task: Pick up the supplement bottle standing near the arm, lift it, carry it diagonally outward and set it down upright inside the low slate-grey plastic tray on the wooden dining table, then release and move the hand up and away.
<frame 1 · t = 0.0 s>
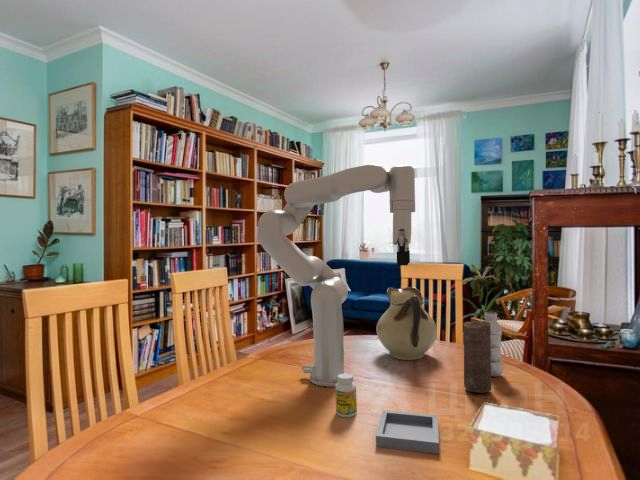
hand: (403, 264, 118), 37 cm above the table, tool pointing down, fingers open, 9 cm apart
pitcher: (408, 356, 148), on the table
candle: (477, 392, 113), on the table
plastic bottle: (492, 375, 126), on the table
tray: (408, 435, 89), on the table
supplement bottle: (346, 413, 101), on the table
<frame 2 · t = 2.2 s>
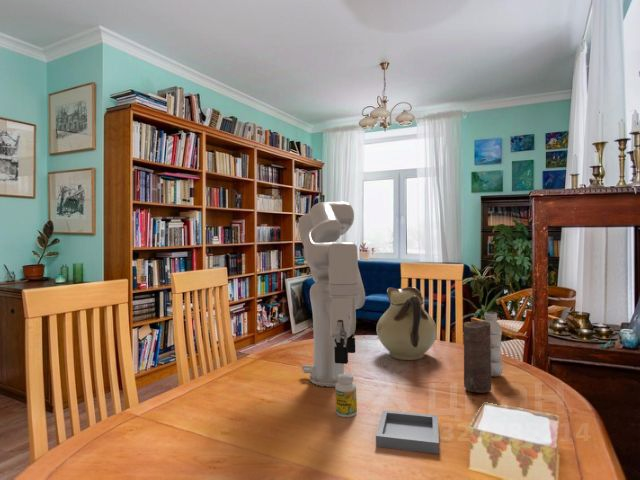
hand: (345, 357, 100), 14 cm above the table, tool pointing down, fingers open, 9 cm apart
nothing on the table moved.
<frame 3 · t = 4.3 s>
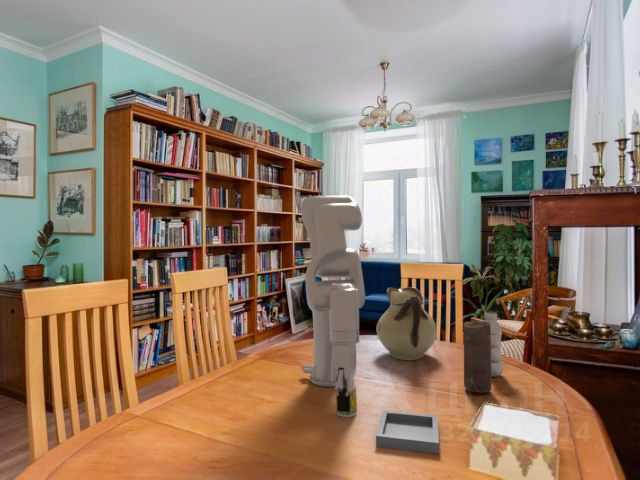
hand: (346, 405, 101), 2 cm above the table, tool pointing down, fingers closed on supplement bottle, 5 cm apart
supplement bottle: (346, 413, 101), on the table, touching gripper
everything else where it was.
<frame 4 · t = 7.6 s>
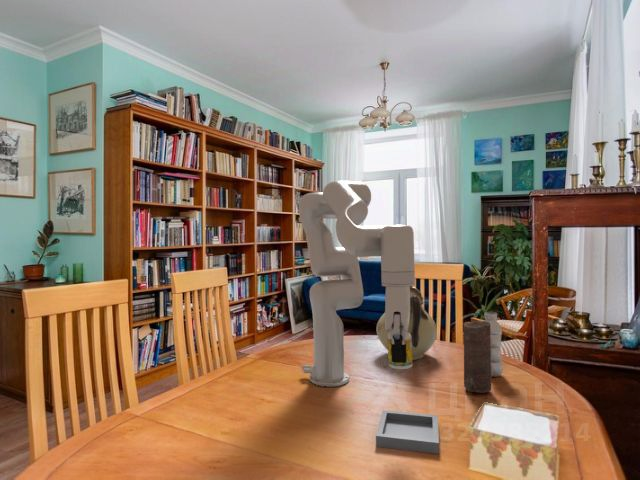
hand: (400, 357, 90), 17 cm above the table, tool pointing down, fingers closed on supplement bottle, 5 cm apart
supplement bottle: (400, 366, 90), point 15 cm above the table, touching gripper
everything else where it was.
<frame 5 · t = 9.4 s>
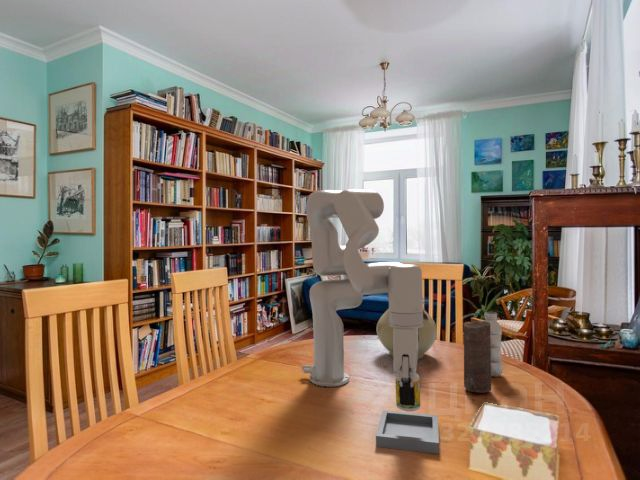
hand: (408, 398, 89), 8 cm above the table, tool pointing down, fingers closed on supplement bottle, 5 cm apart
supplement bottle: (408, 407, 89), point 6 cm above the table, touching gripper
everything else where it was.
when the fingers open (4 cm above the table, at t = 11.1 s): supplement bottle drops 1 cm, resting on tray.
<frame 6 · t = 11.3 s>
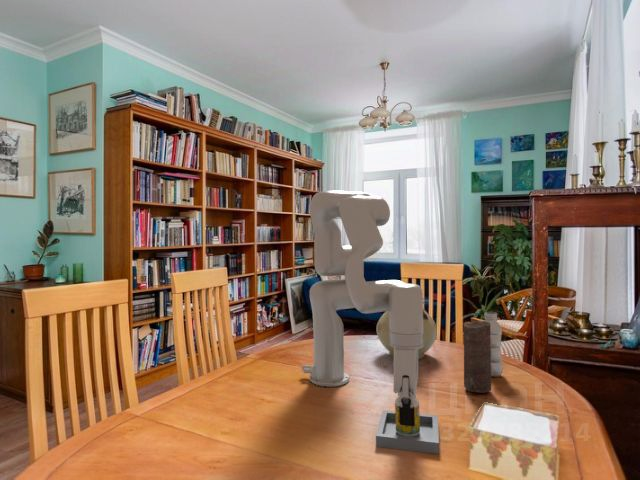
hand: (408, 416, 89), 4 cm above the table, tool pointing down, fingers open, 7 cm apart
supplement bottle: (407, 432, 89), resting on tray
everything else where it was.
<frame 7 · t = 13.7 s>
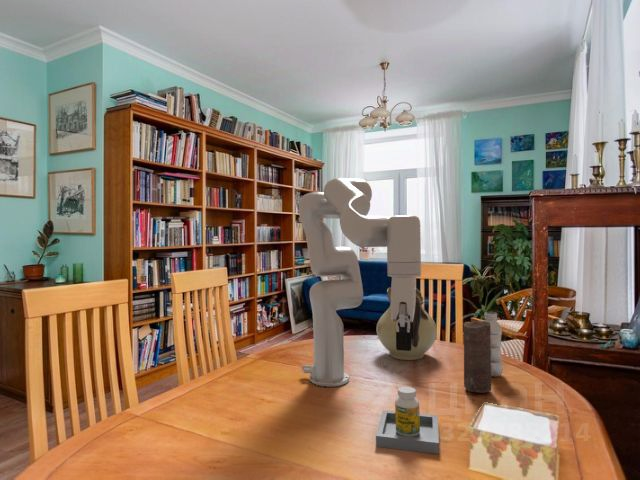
hand: (405, 344, 90), 20 cm above the table, tool pointing down, fingers open, 9 cm apart
nothing on the table moved.
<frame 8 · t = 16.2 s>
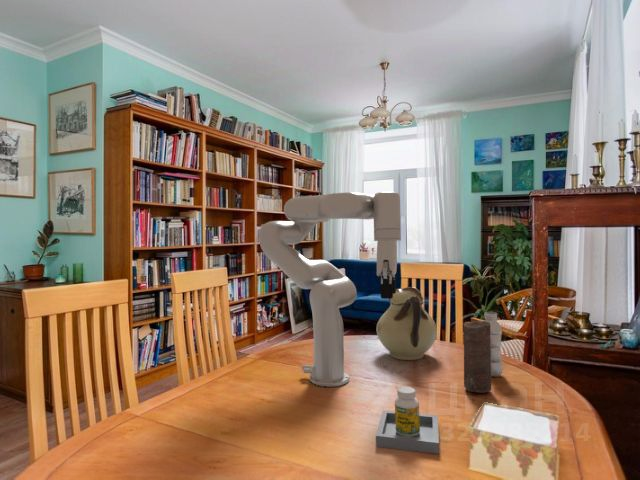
hand: (388, 295, 112), 28 cm above the table, tool pointing down, fingers open, 9 cm apart
nothing on the table moved.
at the end: supplement bottle inside the target area on the tray (0.3 cm from its centre), point 0.4 cm above the tray's base; supplement bottle tilted 0°; the gripper is holding nothing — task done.
